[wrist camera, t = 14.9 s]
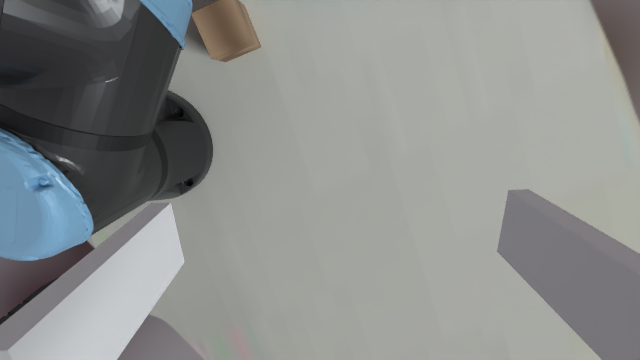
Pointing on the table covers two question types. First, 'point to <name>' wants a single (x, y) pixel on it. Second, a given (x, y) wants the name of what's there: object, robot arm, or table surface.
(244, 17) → the walnut block
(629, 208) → the table surface
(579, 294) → the robot arm
